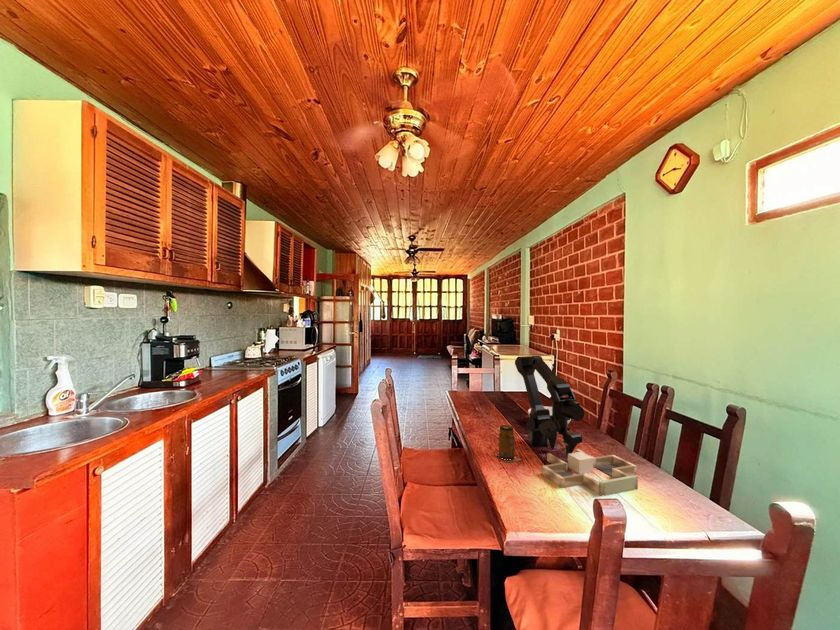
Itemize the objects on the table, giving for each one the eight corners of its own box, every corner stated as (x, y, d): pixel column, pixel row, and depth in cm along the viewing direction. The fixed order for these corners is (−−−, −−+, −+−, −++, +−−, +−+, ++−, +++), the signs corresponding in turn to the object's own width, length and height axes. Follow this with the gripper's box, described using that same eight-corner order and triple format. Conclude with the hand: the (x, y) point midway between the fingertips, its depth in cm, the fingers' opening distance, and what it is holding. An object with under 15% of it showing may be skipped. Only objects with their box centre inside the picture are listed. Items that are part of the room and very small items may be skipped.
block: (567, 467, 133) (567, 453, 133) (581, 464, 135) (581, 451, 135) (579, 474, 128) (579, 460, 127) (593, 471, 129) (593, 458, 129)
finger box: (547, 461, 138) (547, 450, 138) (578, 456, 142) (578, 446, 142) (601, 495, 112) (601, 483, 112) (637, 488, 116) (637, 476, 116)
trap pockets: (542, 474, 127) (542, 465, 127) (613, 462, 137) (613, 454, 136) (561, 488, 117) (561, 478, 117) (637, 474, 127) (637, 465, 127)
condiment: (509, 452, 147) (509, 423, 147) (521, 460, 139) (521, 429, 139) (493, 454, 145) (493, 425, 145) (505, 463, 137) (505, 431, 137)
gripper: (528, 409, 148) (528, 447, 148) (558, 422, 130) (558, 465, 131) (551, 407, 152) (551, 444, 152) (583, 419, 134) (583, 461, 134)
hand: (560, 453), depth 142 cm, fingers open, 9 cm apart
